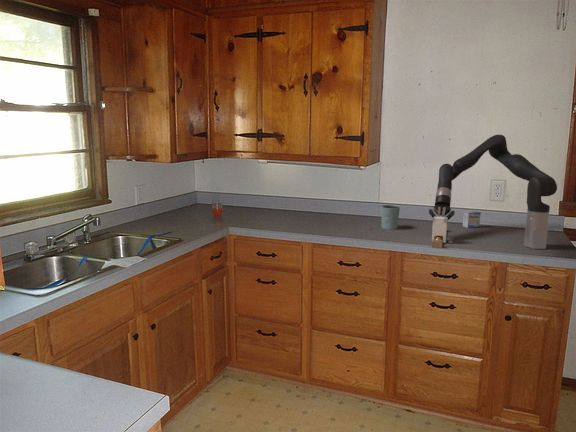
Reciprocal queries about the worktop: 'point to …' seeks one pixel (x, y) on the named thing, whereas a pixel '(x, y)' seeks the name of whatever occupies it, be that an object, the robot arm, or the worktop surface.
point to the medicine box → (471, 219)
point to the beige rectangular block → (439, 227)
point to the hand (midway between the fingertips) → (439, 226)
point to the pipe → (439, 242)
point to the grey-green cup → (390, 216)
